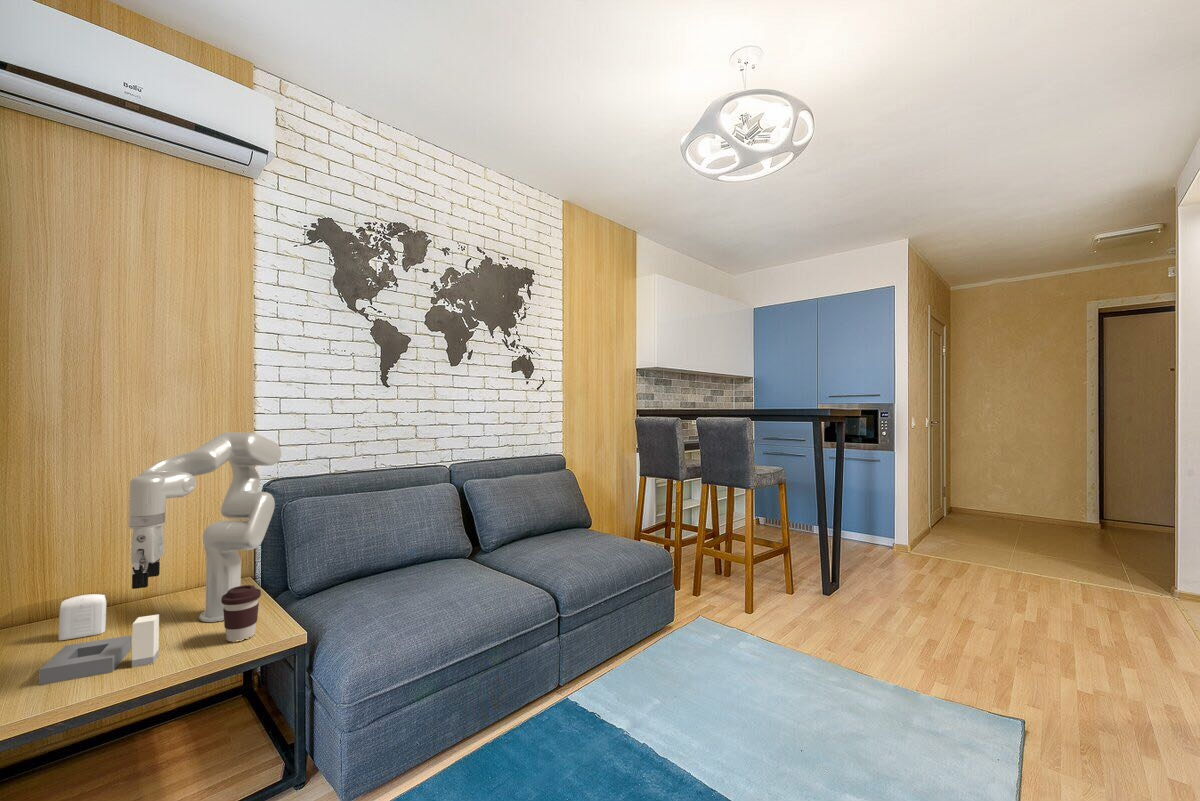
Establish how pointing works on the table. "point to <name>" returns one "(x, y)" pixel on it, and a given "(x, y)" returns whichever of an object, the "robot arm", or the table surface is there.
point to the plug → (145, 640)
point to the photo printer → (82, 616)
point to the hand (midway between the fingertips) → (146, 581)
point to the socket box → (85, 660)
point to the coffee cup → (240, 612)
